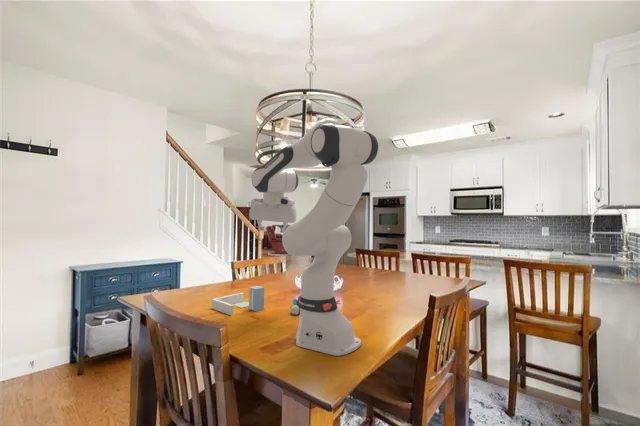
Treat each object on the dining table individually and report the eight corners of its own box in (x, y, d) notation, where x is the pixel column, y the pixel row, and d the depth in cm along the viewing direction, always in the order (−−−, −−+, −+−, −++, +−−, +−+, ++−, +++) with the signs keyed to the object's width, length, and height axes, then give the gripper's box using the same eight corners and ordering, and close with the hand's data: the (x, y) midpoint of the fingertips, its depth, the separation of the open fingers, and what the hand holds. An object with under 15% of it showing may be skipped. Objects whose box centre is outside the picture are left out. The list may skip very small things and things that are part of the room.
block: (263, 309, 139) (264, 287, 139) (255, 311, 136) (255, 289, 136) (257, 307, 142) (257, 285, 142) (248, 309, 139) (249, 287, 139)
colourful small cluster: (310, 317, 130) (310, 299, 130) (287, 315, 132) (287, 297, 132) (314, 311, 138) (315, 294, 138) (293, 309, 140) (293, 292, 140)
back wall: (243, 301, 151) (243, 292, 151) (213, 308, 138) (213, 299, 138) (242, 300, 151) (242, 292, 151) (211, 308, 139) (211, 299, 139)
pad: (254, 304, 146) (254, 304, 146) (241, 308, 140) (241, 307, 140) (244, 301, 150) (244, 301, 150) (232, 304, 145) (232, 304, 145)
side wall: (233, 314, 131) (233, 305, 131) (230, 315, 130) (231, 305, 130) (215, 308, 139) (215, 299, 139) (213, 308, 138) (213, 299, 138)
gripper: (247, 198, 135) (246, 230, 136) (294, 201, 131) (292, 234, 132) (253, 198, 141) (252, 228, 142) (298, 200, 137) (296, 232, 138)
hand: (271, 231), depth 137 cm, fingers open, 8 cm apart
